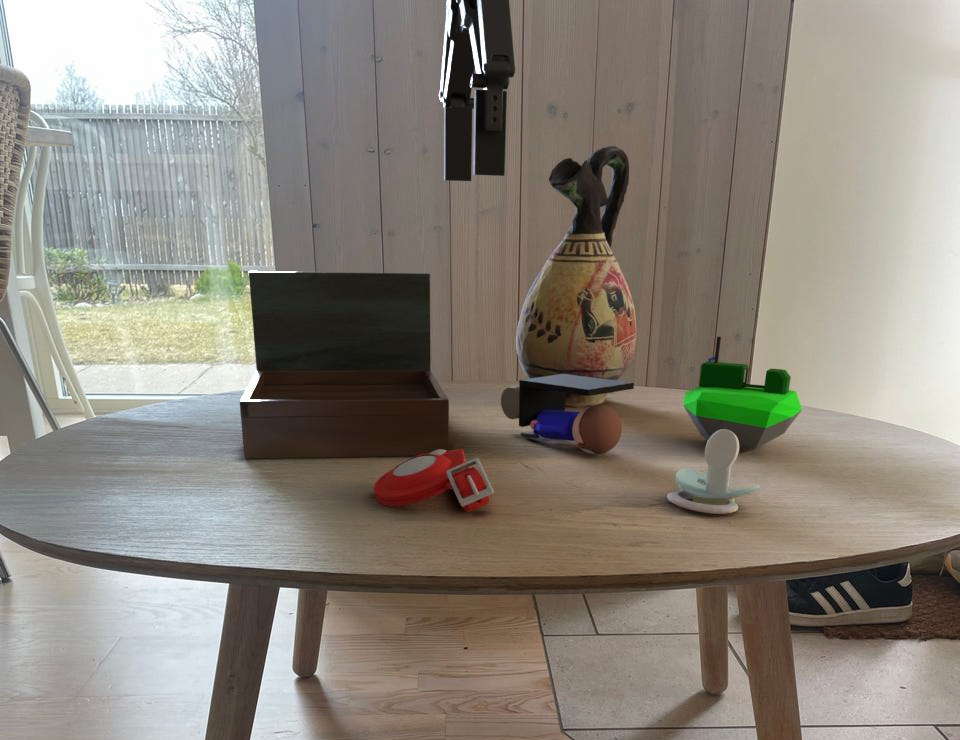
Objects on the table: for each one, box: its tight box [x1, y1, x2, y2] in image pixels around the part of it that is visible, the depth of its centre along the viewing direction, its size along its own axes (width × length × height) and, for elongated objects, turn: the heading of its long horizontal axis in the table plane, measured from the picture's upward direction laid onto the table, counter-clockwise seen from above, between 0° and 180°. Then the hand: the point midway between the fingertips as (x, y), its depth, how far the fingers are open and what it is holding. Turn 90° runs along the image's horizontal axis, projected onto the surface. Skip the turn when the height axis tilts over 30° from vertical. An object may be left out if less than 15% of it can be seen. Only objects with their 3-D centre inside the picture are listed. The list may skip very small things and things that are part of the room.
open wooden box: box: [239, 270, 450, 460], centre depth 97 cm, size 21×20×16 cm
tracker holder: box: [373, 448, 495, 513], centre depth 77 cm, size 12×4×10 cm
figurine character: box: [500, 374, 635, 455], centre depth 97 cm, size 7×8×15 cm
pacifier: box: [667, 429, 761, 515], centre depth 76 cm, size 7×6×6 cm
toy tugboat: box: [682, 336, 803, 453], centre depth 96 cm, size 12×12×11 cm
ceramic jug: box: [515, 145, 638, 408], centre depth 117 cm, size 17×15×30 cm
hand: (472, 178), depth 88 cm, fingers open, 13 cm apart
